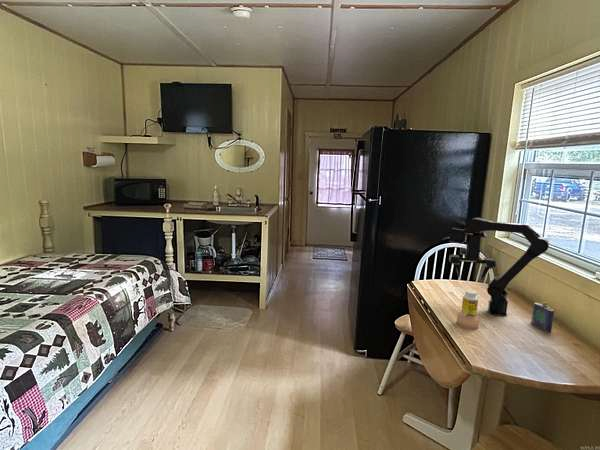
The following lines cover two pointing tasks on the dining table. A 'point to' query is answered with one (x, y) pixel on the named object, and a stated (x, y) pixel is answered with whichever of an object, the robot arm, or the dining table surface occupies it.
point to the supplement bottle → (469, 304)
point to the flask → (542, 316)
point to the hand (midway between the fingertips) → (469, 278)
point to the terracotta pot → (467, 322)
